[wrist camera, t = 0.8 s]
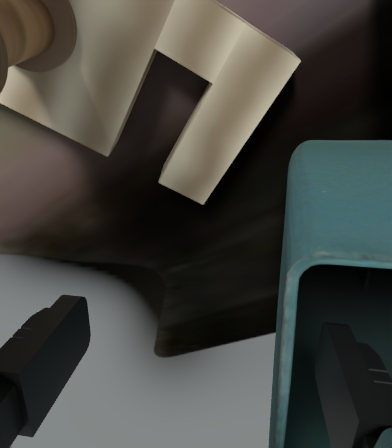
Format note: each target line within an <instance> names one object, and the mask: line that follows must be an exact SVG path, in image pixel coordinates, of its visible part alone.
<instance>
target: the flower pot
mask: <svg viewBox="0 0 392 448" xmlns="http://www.w3.org/2000/svg"><path fill="white" fill-rule="evenodd" d="M324 322H327V323H337V324H346V325H349V326H350V328H351V330H352V332H353V334H354V337H355V339H356V341H357V342H360V343H367V344H368V345H369V346H370V347H371V348H372V349H373V350H374V351H375V352H376V353H377V354H378V355H379V356H380V357H381V359H382V361H383V363H384V365H385V367H386V369H387V373H389V375H390V377H391V379H392V140H309V141H305V142H303V143H302V144H300V145H299V146H298V147H297V148H296V149H295V151H294V152H293V154H292V156H291V159H290V162H289V169H288V179H287V193H286V208H285V221H284V234H283V246H282V258H281V271H280V283H279V295H278V309H277V324H276V340H275V353H274V369H273V384H272V400H271V417H270V433H269V448H331V443H330V439H329V435H328V431H327V426H326V422H325V418H324V413H323V409H322V405H321V401H320V396H319V392H318V388H317V384H316V379H315V358H316V353H317V348H318V343H319V337H320V332H321V327H322V324H323V323H324Z"/></svg>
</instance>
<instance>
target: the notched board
mask: <svg viewBox="0 0 392 448" xmlns="http://www.w3.org/2000/svg"><path fill="white" fill-rule="evenodd" d="M69 2H70V5H71V7H72V9H73V12H74V15H75V19H76V25H77V40H76V44H75V48H74V50H73V52H72V54H71V56H70V57H69V58H68V60H67V61H65V62H64V63H63V64H61V65H60V66H58V67H56V68H54V69H52V70H50V71H46V72H31V71H27V70H24V69H21V68H19V67H17V66H15V65H13V66H11V67H8V75H7V80H6V84H5V86H4V88H3V90H2V92H1V93H0V103H1V104H3V105H5V106H7V107H9V108H11V109H13V110H15V111H17V112H19V113H21V114H23V115H25V116H27V117H29V118H31V119H33V120H35V121H37V122H39V123H41V124H43V125H45V126H47V127H49V128H51V129H53V130H55V131H57V132H59V133H61V134H63V135H65V136H67V137H69V138H71V139H73V140H75V141H77V142H79V143H81V144H83V145H85V146H87V147H89V148H91V149H93V150H95V151H97V152H99V153H101V154H103V155H105V156H107V157H108V156H109V154H110V153H111V151H112V150H113V148H114V147H115V145H116V144H117V142H118V140H119V138H120V135H121V133H122V131H123V129H124V126H125V124H126V122H127V119H128V117H129V115H130V112H131V110H132V108H133V105H134V103H135V101H136V99H137V96H138V94H139V92H140V89H141V87H142V85H143V82H144V80H145V78H146V75H147V73H148V71H149V69H150V66H151V64H152V62H153V59H154V57H155V55H156V52H157V50H158V51H159V52H161V53H163V54H164V55H166V56H168V57H169V58H171V59H173V60H174V61H176V62H178V63H179V64H181V65H183V66H184V67H186V68H187V69H189V70H191V71H192V72H194V73H196V74H197V75H199V76H201V77H202V78H204V79H206V80H207V81H209V83H208V85H207V87H206V89H205V91H204V92H203V94H202V96H201V98H200V100H199V102H198V103H197V105H196V107H195V109H194V111H193V112H192V114H191V116H190V118H189V120H188V122H187V123H186V125H185V127H184V129H183V131H182V133H181V134H180V136H179V138H178V140H177V142H176V144H175V145H174V147H173V149H172V151H171V153H170V155H169V156H168V158H167V160H166V162H165V164H164V166H163V169H162V172H161V175H160V179H159V182H158V183H160V184H162V185H164V186H166V187H168V188H170V189H172V190H174V191H176V192H178V193H180V194H182V195H184V196H186V197H188V198H190V199H192V200H194V201H196V202H198V203H200V204H202V205H203V204H204V203H205V201H206V200H207V198H208V197H209V195H210V194H211V193H212V191H213V190H214V188H215V187H216V185H217V184H218V182H219V181H220V179H221V178H222V176H223V175H224V173H225V172H226V170H227V169H228V168H229V166H230V165H231V163H232V162H233V160H234V159H235V157H236V156H237V154H238V153H239V151H240V150H241V148H242V147H243V145H244V144H245V143H246V141H247V140H248V138H249V137H250V135H251V134H252V132H253V131H254V129H255V128H256V126H257V125H258V123H259V122H260V120H261V119H262V118H263V116H264V115H265V113H266V112H267V110H268V109H269V107H270V106H271V104H272V103H273V101H274V100H275V98H276V97H277V96H278V94H279V93H280V91H281V90H282V88H283V87H284V85H285V84H286V82H287V81H288V79H289V78H290V76H291V75H292V73H293V72H294V71H295V69H296V68H297V66H298V65H299V63H300V62H301V60H300V59H299V58H298V57H297V56H296V55H295V54H294V53H293V52H292V51H290V50H289V49H287V48H286V47H284V46H283V45H281V44H280V43H278V42H277V41H276V40H274V39H273V38H271V37H270V36H268V35H267V34H265V33H264V32H262V31H261V30H259V29H258V28H256V27H255V26H253V25H252V24H250V23H249V22H247V21H246V20H244V19H243V18H241V17H240V16H238V15H237V14H235V13H234V12H232V11H231V10H229V9H228V8H226V7H225V6H223V5H222V4H220V3H219V2H217V1H216V0H69Z"/></svg>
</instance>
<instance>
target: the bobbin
mask: <svg viewBox="0 0 392 448" xmlns="http://www.w3.org/2000/svg"><path fill="white" fill-rule="evenodd" d="M76 40H77V25H76V19H75V15H74V12H73V9H72V7H71V5H70V2H69V0H0V93H1V92H2V90H3V88H4V86H5V84H6V80H7V75H8V67H11V66H13V65H15V66H17V67H19V68H21V69H24V70H27V71H31V72H46V71H50V70H52V69H54V68H56V67H58V66H60V65H61V64H63V63H64V62H65V61H67V60H68V58H69V57H70V56H71V54H72V52H73V50H74V48H75V44H76Z"/></svg>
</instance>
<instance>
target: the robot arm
mask: <svg viewBox="0 0 392 448" xmlns="http://www.w3.org/2000/svg"><path fill="white" fill-rule="evenodd" d="M89 342H90V325H89V315H88V306H87V301H86V298H85V297H80V296H71V295H62V296H61V297H59V299H58V300H57V301H56V302H55V303H54V304H53V305H52V306H51V307H50V308H44V309H43V310H41V311H39V312H37V313H36V314H34V315H32V316H31V317H30V318H29V319H28V320H27V321H26V322H25V323H24V324H23V325H22V326H21V329H18V330H17V332H16V333H15V334H14V335H13V337H12V338H10V339H9V340H8V341H7V342H6V343H5V344H4V345H3V346H2V347H1V348H0V448H12V447H11V444H12V443H13V441H14V440H15V438H16V437H17V435H22V436H28V437H33V436H34V434H35V433H36V431H37V430H38V428H39V427H40V425H41V423H42V422H43V420H44V418H45V417H46V415H47V413H48V412H49V410H50V409H51V407H52V405H53V404H54V402H55V401H56V399H57V398H58V396H59V394H60V393H61V391H62V389H63V388H64V386H65V384H66V383H67V381H68V380H69V378H70V377H71V375H72V373H73V372H74V370H75V369H76V366H77V365H78V363H79V362H80V360H81V359H82V357H83V356H84V354H85V352H86V351H87V348H88V346H89ZM315 379H316V384H317V388H318V392H319V396H320V401H321V405H322V409H323V413H324V418H325V422H326V426H327V431H328V435H329V439H330V443H331V448H392V379H391V377H390V375H389V373H387V369H386V367H385V365H384V363H383V361H382V359H381V357H380V356H379V355H378V354H377V353H376V352H375V351H374V350H373V349H372V348H371V347H370V346H369V345H368V344H367V343H360V342H357V341H356V339H355V337H354V334H353V332H352V330H351V328H350V326H349V325H346V324H337V323H327V322H324V323H323V324H322V327H321V332H320V337H319V343H318V348H317V353H316V358H315Z"/></svg>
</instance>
